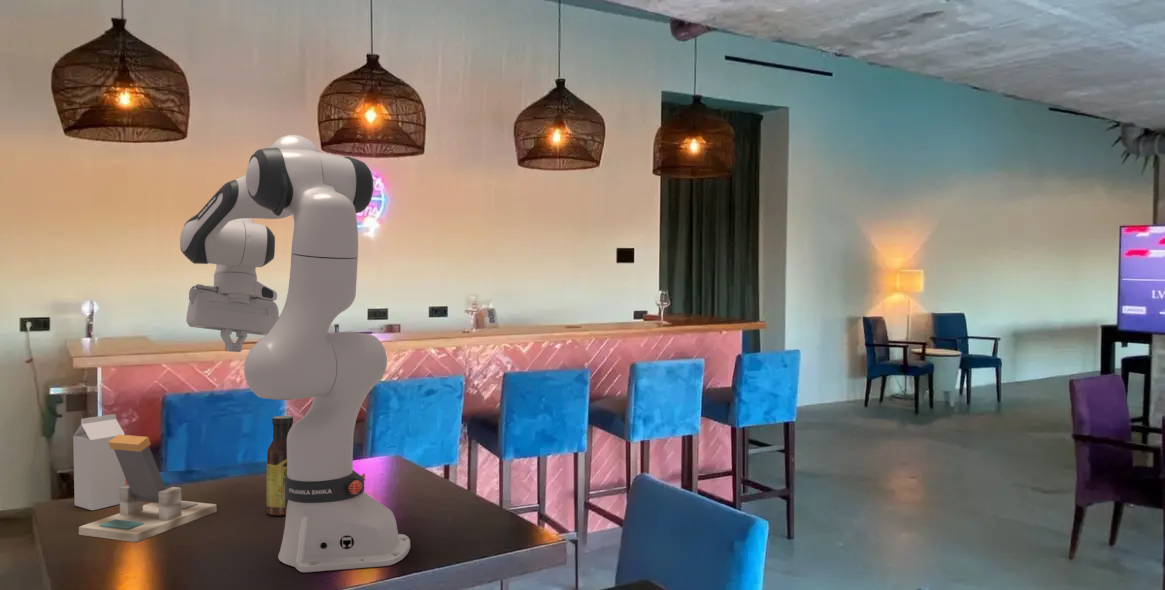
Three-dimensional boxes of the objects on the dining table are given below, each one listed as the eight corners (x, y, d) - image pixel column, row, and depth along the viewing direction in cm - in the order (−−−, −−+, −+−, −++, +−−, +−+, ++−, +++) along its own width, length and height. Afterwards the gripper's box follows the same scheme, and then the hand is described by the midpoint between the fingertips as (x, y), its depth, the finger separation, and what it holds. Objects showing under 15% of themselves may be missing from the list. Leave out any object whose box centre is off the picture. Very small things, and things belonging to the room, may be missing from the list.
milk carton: (126, 503, 175) (124, 415, 175) (91, 511, 169) (89, 420, 169) (108, 498, 179) (106, 412, 179) (74, 506, 173) (72, 417, 173)
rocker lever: (142, 493, 164) (118, 434, 159) (171, 496, 162) (148, 436, 157) (132, 501, 162) (108, 442, 157) (161, 505, 160) (138, 444, 154)
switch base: (163, 505, 174) (162, 472, 173) (216, 511, 169) (216, 478, 169) (79, 534, 155) (78, 498, 154) (136, 542, 150) (135, 504, 150)
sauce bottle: (287, 517, 165) (286, 420, 164) (260, 516, 166) (258, 419, 165) (305, 508, 171) (304, 414, 171) (278, 506, 172) (277, 413, 172)
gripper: (198, 279, 171) (195, 344, 168) (283, 293, 187) (282, 353, 184) (182, 285, 174) (179, 349, 171) (267, 298, 191) (266, 357, 188)
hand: (233, 351), depth 178 cm, fingers closed
